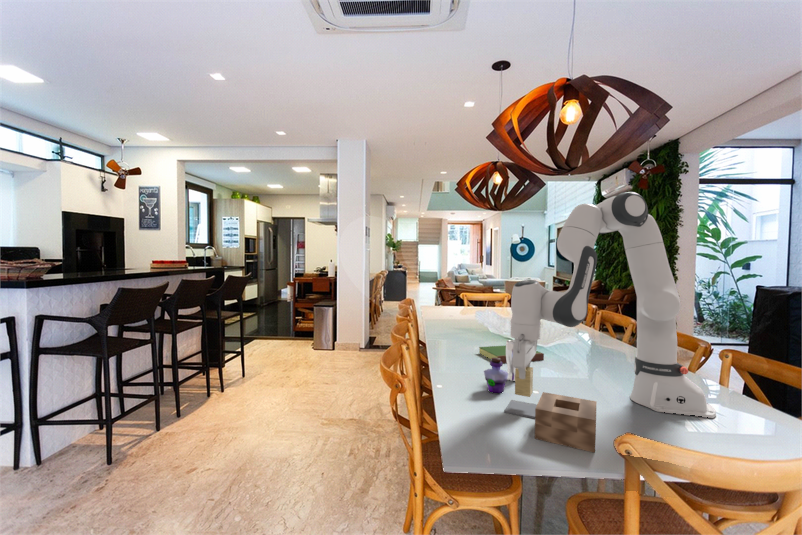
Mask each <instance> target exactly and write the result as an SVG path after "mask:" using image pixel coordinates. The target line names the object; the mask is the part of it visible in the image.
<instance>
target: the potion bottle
mask: <svg viewBox="0 0 802 535" xmlns="http://www.w3.org/2000/svg"><path fill="white" fill-rule="evenodd" d="M503 364H504V363H503V362H501V359H500V358H492V360H491V359H490V361H489V366H491V368H487V369H485V370H483V373H484V374H483V375H484V379H485V381H486V384H487V385H486V386H487V391H488V390H489V391H490V392H493V393H502V392H504V390H505V387H506V383H507V381H508V380H507V378H508V373H507V371H506V370H503V369H501V367H503ZM489 391H488V392H489ZM490 392H489V393H490ZM493 393H492V394H493ZM502 394H503V393H502Z"/></svg>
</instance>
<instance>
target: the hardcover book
mask: <svg viewBox="0 0 802 535" xmlns="http://www.w3.org/2000/svg"><path fill="white" fill-rule="evenodd" d="M478 348H479V352H478V354H479V353H481V354H482V356H483V355H484V356H483V357H485V356H486V357H485V358H487V357H488V358H487V359H489V358H490V359H489V360H491V359H492V358H500V359H501V362H503V364H507V361H506V345H494V346H493V345H492V346H491V345H488V346H478ZM481 354H480V355H481ZM544 356H545V353H543V352H541V351H538V350H536V354H535V356H534V357H533V358H532V360H531V362H538V361H539V362H540V360H541V361H544V359H545V357H544Z"/></svg>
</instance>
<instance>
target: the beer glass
mask: <svg viewBox="0 0 802 535" xmlns="http://www.w3.org/2000/svg"><path fill="white" fill-rule="evenodd" d="M505 342H506V343H505V344H506V345H505V346H506V361H507V363H506V367H507V371H506V372H507V373H508V378H507V381H509V380H510V381H509V382H513V381H515V369H516V368H514V367H513V365H512V357H513V345H514V342H515V339H509V340H508V339H507V340H506V341H505Z"/></svg>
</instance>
